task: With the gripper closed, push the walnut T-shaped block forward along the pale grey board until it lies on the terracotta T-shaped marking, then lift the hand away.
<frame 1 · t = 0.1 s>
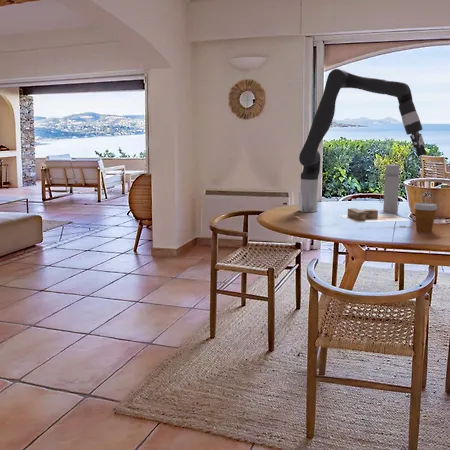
hand: (422, 155, 261), 31 cm above the table, tool tilted 20°, fingers open, 8 cm apart
board: (373, 220, 266), on the table
disposable coffee cup: (423, 231, 240), on the table
water bottle: (388, 212, 290), on the table
tee block: (356, 218, 265), point 1 cm above the table, touching board
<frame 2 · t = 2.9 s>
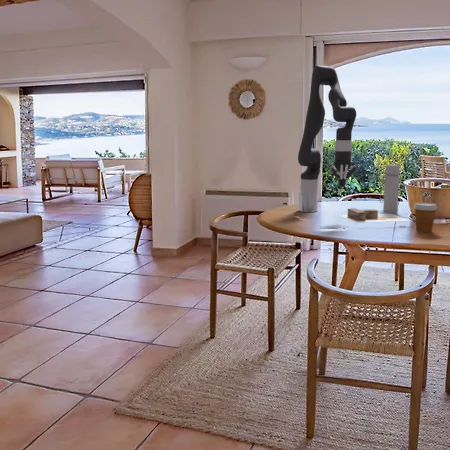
hand: (341, 186, 260), 17 cm above the table, tool pointing down, fingers closed
nothing on the table moved.
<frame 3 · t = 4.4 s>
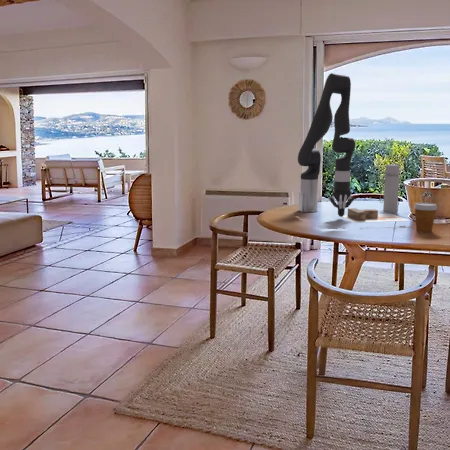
hand: (340, 216, 263), 3 cm above the table, tool pointing down, fingers closed
nothing on the table moved.
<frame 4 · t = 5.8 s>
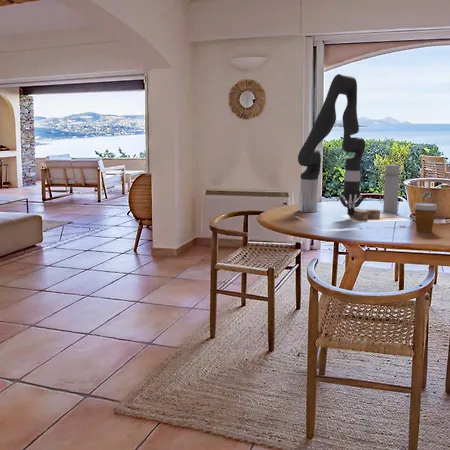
hand: (350, 215, 264), 3 cm above the table, tool pointing down, fingers closed
tee block: (358, 218, 265), point 1 cm above the table, touching gripper
everything else where it was.
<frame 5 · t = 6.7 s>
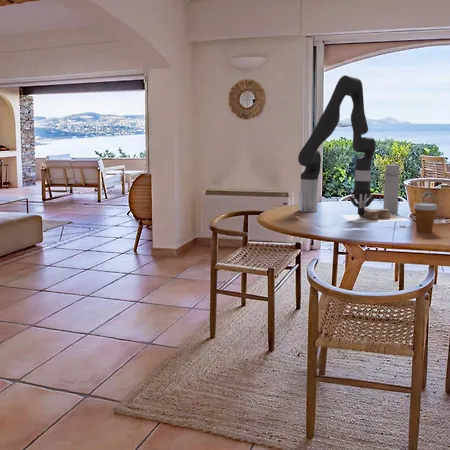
hand: (360, 215, 264), 3 cm above the table, tool pointing down, fingers closed
tee block: (368, 218, 265), point 1 cm above the table, touching board, gripper
everything else where it was.
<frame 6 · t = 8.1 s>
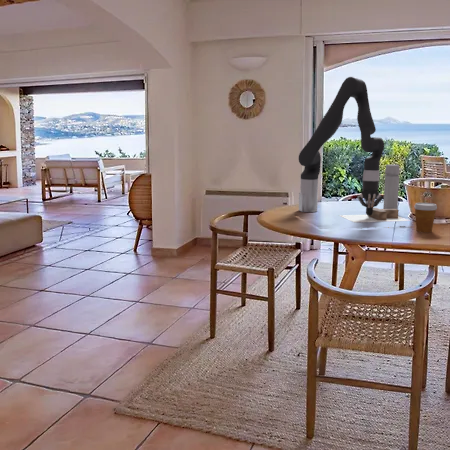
hand: (369, 215, 265), 3 cm above the table, tool pointing down, fingers closed
tee block: (376, 217, 266), point 1 cm above the table, touching board, gripper
everything else where it was.
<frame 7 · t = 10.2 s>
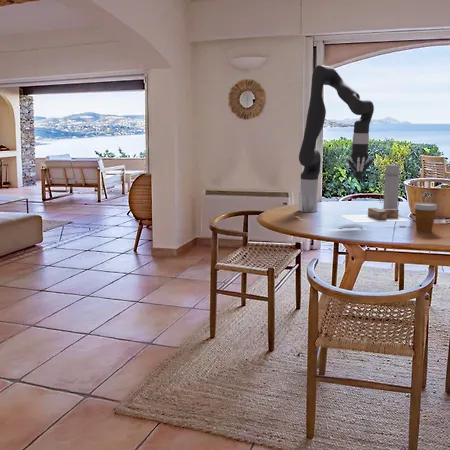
hand: (358, 179, 265), 20 cm above the table, tool pointing down, fingers closed
tee block: (376, 217, 266), point 1 cm above the table, touching board
everything else where it was.
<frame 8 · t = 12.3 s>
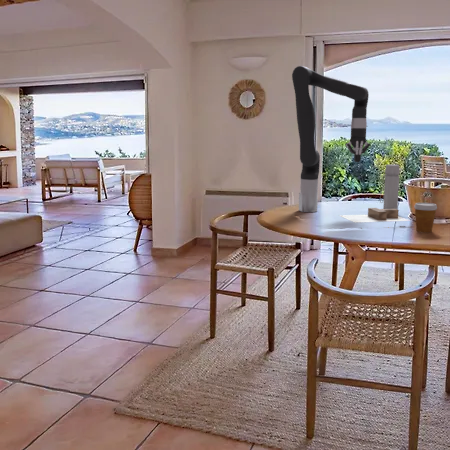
hand: (357, 162, 278), 27 cm above the table, tool pointing down, fingers closed
nothing on the table moved.
at the end: tee block 0.5 cm from the target spot on the board, point 1.2 cm above the board's base; tee block tilted 0°; tee block touching board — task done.
